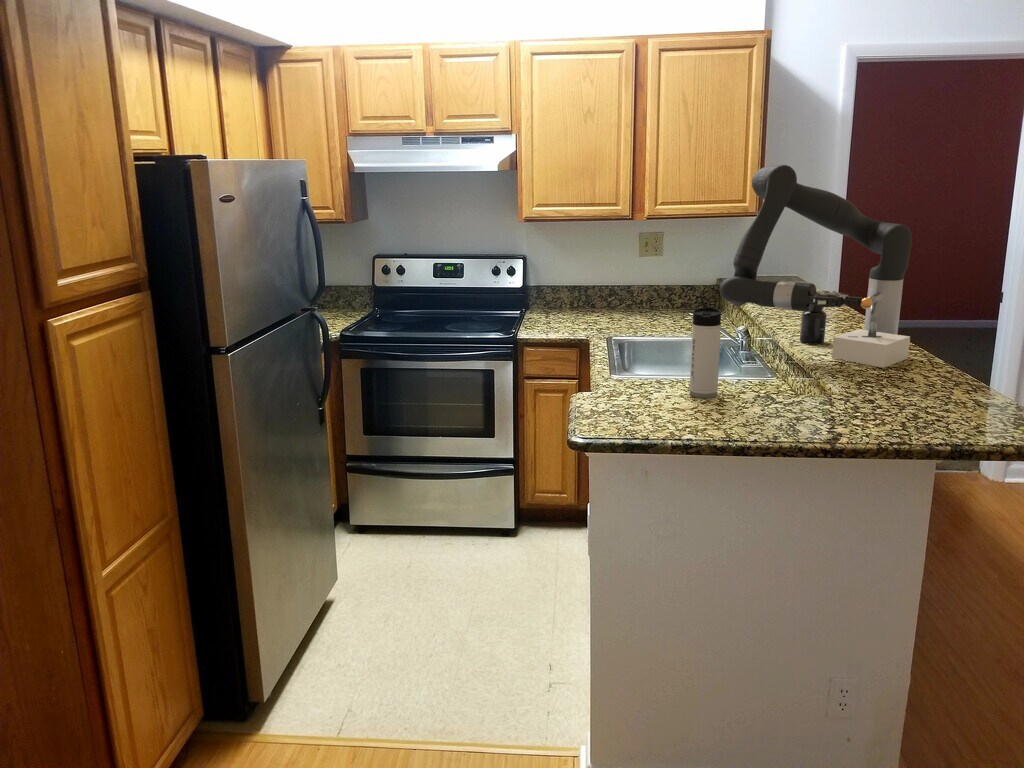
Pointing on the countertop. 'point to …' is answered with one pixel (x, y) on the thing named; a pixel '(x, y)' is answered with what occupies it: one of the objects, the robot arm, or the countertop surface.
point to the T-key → (872, 311)
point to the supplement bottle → (813, 326)
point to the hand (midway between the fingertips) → (862, 302)
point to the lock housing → (871, 348)
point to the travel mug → (705, 352)
